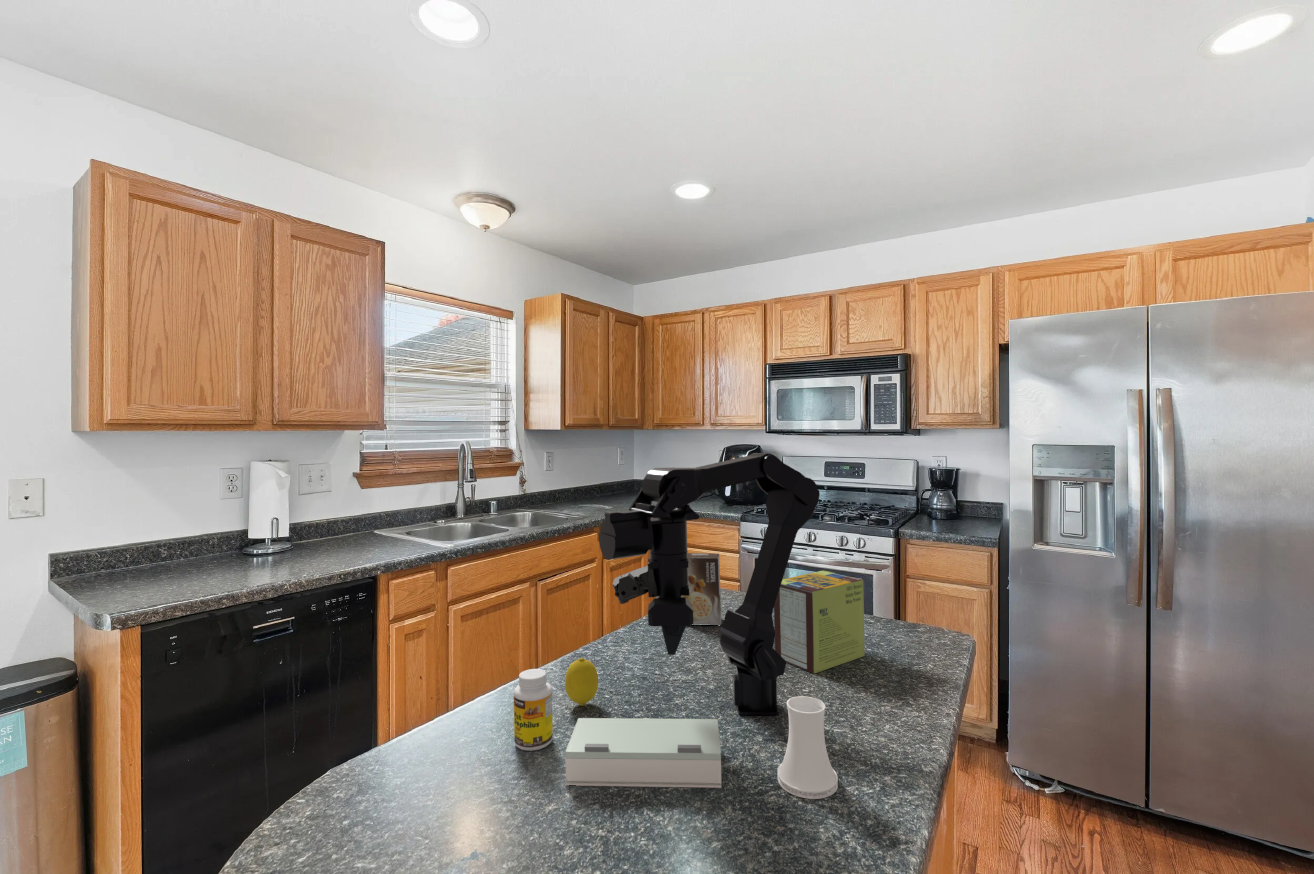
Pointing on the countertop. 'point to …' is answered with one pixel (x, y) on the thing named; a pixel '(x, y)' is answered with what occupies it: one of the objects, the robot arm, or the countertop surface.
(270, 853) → the countertop surface
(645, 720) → the lid
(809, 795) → the vase
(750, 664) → the robot arm
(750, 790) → the countertop surface
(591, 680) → the lemon
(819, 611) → the protein box
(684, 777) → the cable duct
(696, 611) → the coffee box
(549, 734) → the supplement bottle
